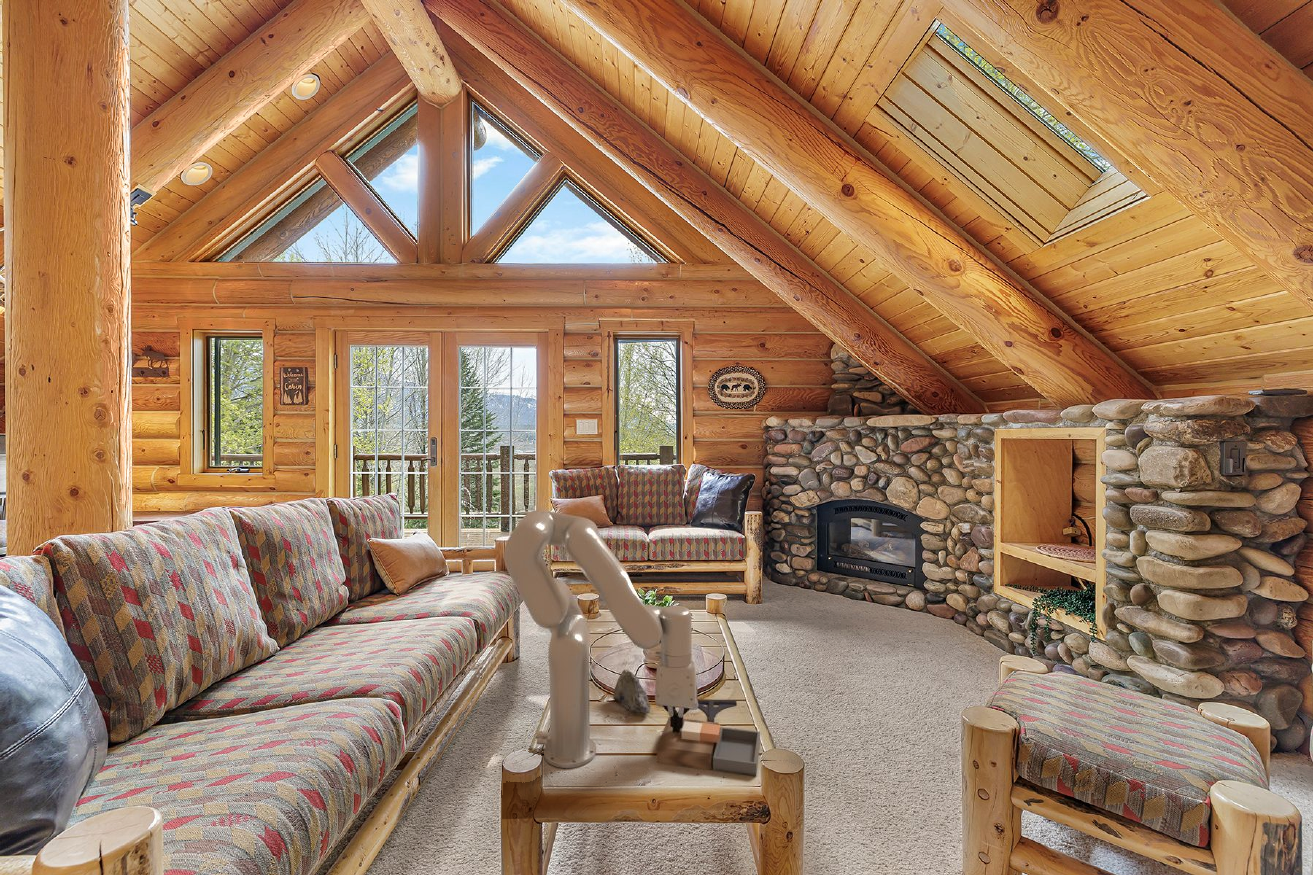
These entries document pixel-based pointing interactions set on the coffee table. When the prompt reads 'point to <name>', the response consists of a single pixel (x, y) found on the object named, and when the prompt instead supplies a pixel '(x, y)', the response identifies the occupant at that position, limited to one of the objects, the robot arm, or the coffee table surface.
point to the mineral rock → (631, 693)
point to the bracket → (712, 710)
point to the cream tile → (691, 730)
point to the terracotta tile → (710, 732)
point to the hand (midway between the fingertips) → (676, 729)
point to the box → (737, 751)
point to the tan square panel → (685, 749)
